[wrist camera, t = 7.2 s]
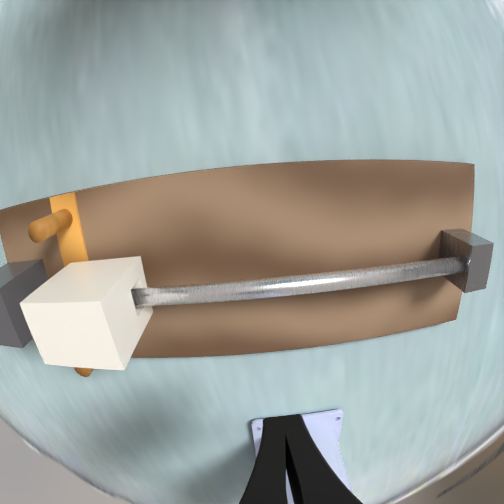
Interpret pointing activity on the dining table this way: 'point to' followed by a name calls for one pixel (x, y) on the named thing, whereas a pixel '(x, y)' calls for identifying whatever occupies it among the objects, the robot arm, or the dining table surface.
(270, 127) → the dining table surface
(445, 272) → the metal rod
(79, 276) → the sleeve
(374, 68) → the dining table surface
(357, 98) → the dining table surface
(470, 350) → the dining table surface
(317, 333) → the walnut board
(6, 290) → the connector
